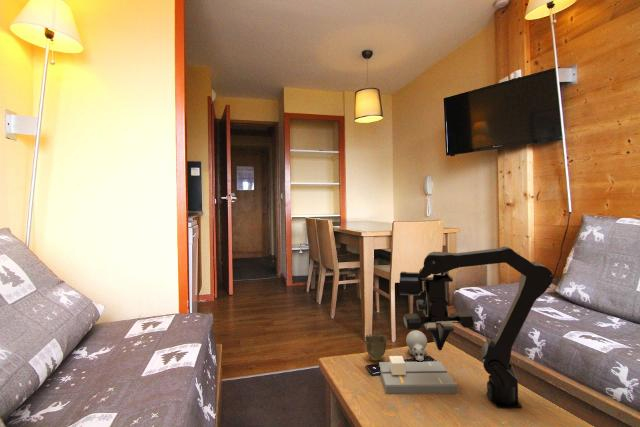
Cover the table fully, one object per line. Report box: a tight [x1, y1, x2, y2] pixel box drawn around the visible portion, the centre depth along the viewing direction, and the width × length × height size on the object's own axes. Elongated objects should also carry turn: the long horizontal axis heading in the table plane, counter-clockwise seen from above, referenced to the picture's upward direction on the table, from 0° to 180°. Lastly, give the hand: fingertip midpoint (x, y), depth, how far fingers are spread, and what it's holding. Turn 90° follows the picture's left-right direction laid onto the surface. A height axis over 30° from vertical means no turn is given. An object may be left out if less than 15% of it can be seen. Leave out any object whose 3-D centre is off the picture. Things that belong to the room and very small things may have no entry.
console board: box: [378, 360, 458, 395], centre depth 101 cm, size 20×14×3 cm
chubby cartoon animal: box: [405, 329, 428, 361], centre depth 116 cm, size 7×12×8 cm, turn 168°
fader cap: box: [388, 355, 406, 375], centre depth 101 cm, size 4×5×4 cm
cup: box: [364, 333, 388, 363], centre depth 115 cm, size 8×7×8 cm
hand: (439, 349), depth 95 cm, fingers closed
